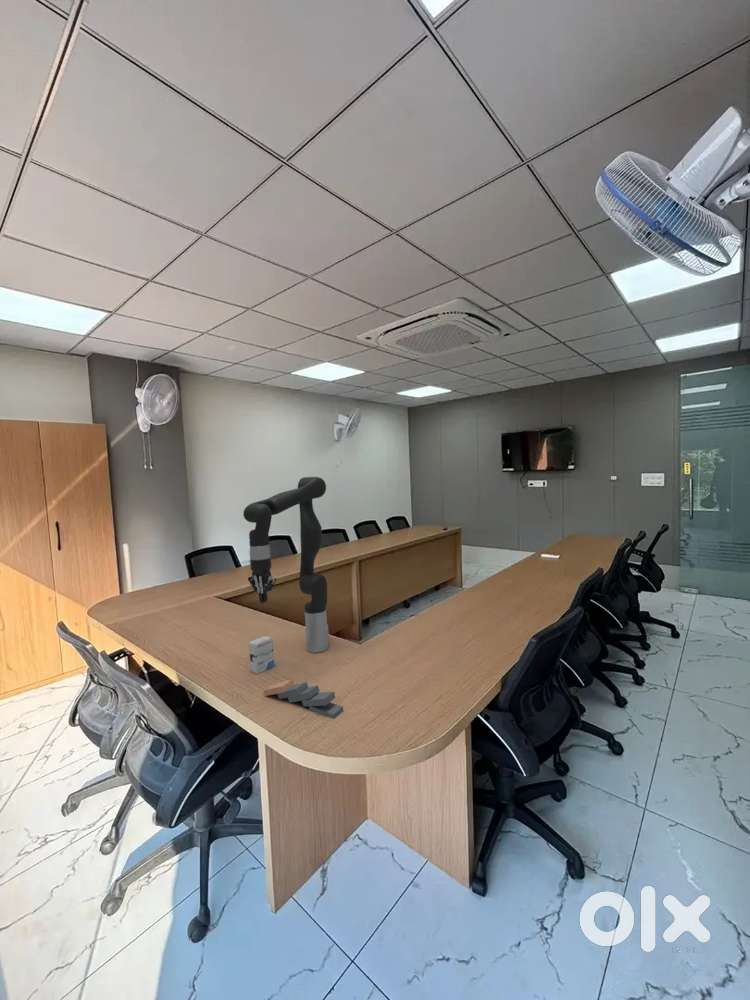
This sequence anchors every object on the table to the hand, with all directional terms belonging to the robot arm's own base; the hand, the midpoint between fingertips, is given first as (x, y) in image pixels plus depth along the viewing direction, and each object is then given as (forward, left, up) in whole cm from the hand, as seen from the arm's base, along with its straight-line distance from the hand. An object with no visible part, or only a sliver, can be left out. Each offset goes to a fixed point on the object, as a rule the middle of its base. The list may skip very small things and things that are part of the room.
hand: (263, 602), depth 154 cm
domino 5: (+8, +29, -29) cm, 41 cm away
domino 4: (+8, +26, -28) cm, 39 cm away
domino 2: (+8, +15, -28) cm, 33 cm away
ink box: (-4, -7, -29) cm, 30 cm away
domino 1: (+8, +9, -28) cm, 31 cm away
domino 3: (+8, +20, -28) cm, 35 cm away
